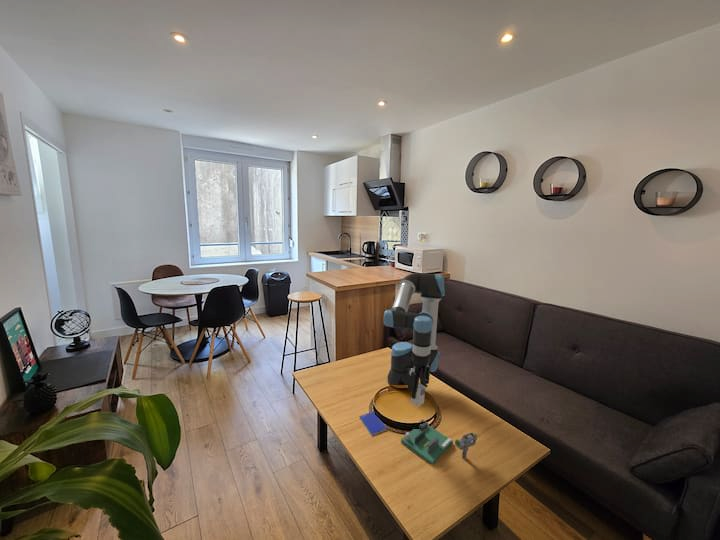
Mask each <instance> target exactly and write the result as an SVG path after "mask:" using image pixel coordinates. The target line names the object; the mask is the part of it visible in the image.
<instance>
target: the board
mask: <svg viewBox="0 0 720 540" xmlns="http://www.w3.org/2000/svg"><path fill="white" fill-rule="evenodd" d="M421 422H425V423H423V424H420V425H419V429H414V428H413V429H412V430H411V431H410V432H409V431H407V432H405V436H404V437H402V438H401V439H400V442H401V443H402V444H403V445H404V446H405V447H407V448H409V449H410V451H411V452H412V451H413V453H414V454H416V455H418V456H419V457H420V458H421V459H423V460H424V461H426V462H427V463H428V464H429V465H431V466H433V465H434V464H435V463H436V462H437V461H438V460H439V459H440V458H441V457H442V456H443V454H445V453H446V452H447V450H449V448H450V447H452V446H453V444H454V440H452V439H451V438H450V437H448V436H446V435H444V434H443V433H441V432H440V431H438V430H436V429H435V428H433V427H432V426H431V425H429V423H428V422H427V421H426V420H424V419H421V420H420V421H419V422H418V423H421ZM424 429H425V430H426V432H425V437H423V438H422V439H421V440H420V441H419V442H418V443H417V444H415V437H416V436H418V435H419V434H420V433H421V432H422V431H423V430H424ZM437 436H438V437H439V445H438V446H437V447H436V448H435V449H434V450H433V451H432V452H431V453H430V454H429V453H428V445H429V444H430V443H431V442H432V441H433V440H434V439H435V438H436V437H437ZM428 441H429V443H428ZM426 442H427V443H428V444H427V445H425V447H424V446H423V445H424V444H425V443H426Z"/></svg>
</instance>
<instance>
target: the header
mask: <svg viewBox="0 0 720 540" xmlns="http://www.w3.org/2000/svg"><path fill="white" fill-rule="evenodd" d="M425 432H426V430H425V429H424V430H423V431H422V432H421V433H420V434H419V435H418V436H416V437H415V444H417V443H418V442H419V441H420V440H421V439H422V438H423V437H425ZM428 443H429V441H428ZM428 443H427V442H426V443H425V444H424V445H423V446H424V447H425V445H427V444H428ZM438 445H439V437H438V436H437V437H436V438H435V439H434V440H433V441H432V442H431V443H430V444H429V445H428V453H429V454H430V453H431V452H432V451H433V450H434V449H435V448H436V447H437V446H438Z"/></svg>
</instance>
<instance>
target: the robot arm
mask: <svg viewBox="0 0 720 540" xmlns="http://www.w3.org/2000/svg"><path fill="white" fill-rule="evenodd" d="M397 291H398V292H397V294H396V296H395V299H394V301H393V304H392V307H391V309H386V310H385V311H384V312H383V325H384V326H385V327H388V328H389V327H390V328H398V329H403V330H405V329H406V330H410V331H411V330H413V331H412V343H410V342H407V341H400V342H396V343H395V344H393V345H392V346H391V352H390V355H391V356H390V369H389V371H388V374H387V378H386V379H387V380H386V381H387V384H388V385H389V386H391V385H408V388H407V390H408V391H409V392H410V393H411V396H410V397H412V400H411V399H410V402H411V404H412V405H414V406H417V403H418V391H417V389H418V383H420V384H422V385H424V386H425V389H426V388H428V384H429V383H430V376H431V373H432V372H433V373H434V372H436V371H437V369H438V364H439V359H440V355H441V352H440V351H439V350H438V346H437V345H436V339H437V338H436V337H437V328H438V327H437V326H438V313H439V302H440V301H441V300H443V298H442V297H444V296H446V295H445V294H446V293H445V291H446V289H445V278H444V276H443V274H436V273H426V272H425V273H424V272H412V273H409V274H408V275H406V276H404V277H403V278H402V279H401V280H400V281H399V283H398V285H397ZM414 294H420V298H421V300H422V307H421V308H422V309H421V312H419V313H417V312H409V311H408V310H409V306H410V303H411V300H412V296H413V295H414ZM417 407H418V406H417Z"/></svg>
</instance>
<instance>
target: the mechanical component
mask: <svg viewBox="0 0 720 540" xmlns="http://www.w3.org/2000/svg"><path fill="white" fill-rule="evenodd" d="M477 441H478V435H477V434H476V433H474V432H469V433H466V434H463V435H462V437H461V439H456V440H455V441H454V444H455V446H456V447H457V448H458V449H459V450H460V451H462V455H461V457H462V458H463V460H466V459H467V456H468V455H467V454H468V452H469V448H470V447H473V446H476V444H477Z"/></svg>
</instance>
